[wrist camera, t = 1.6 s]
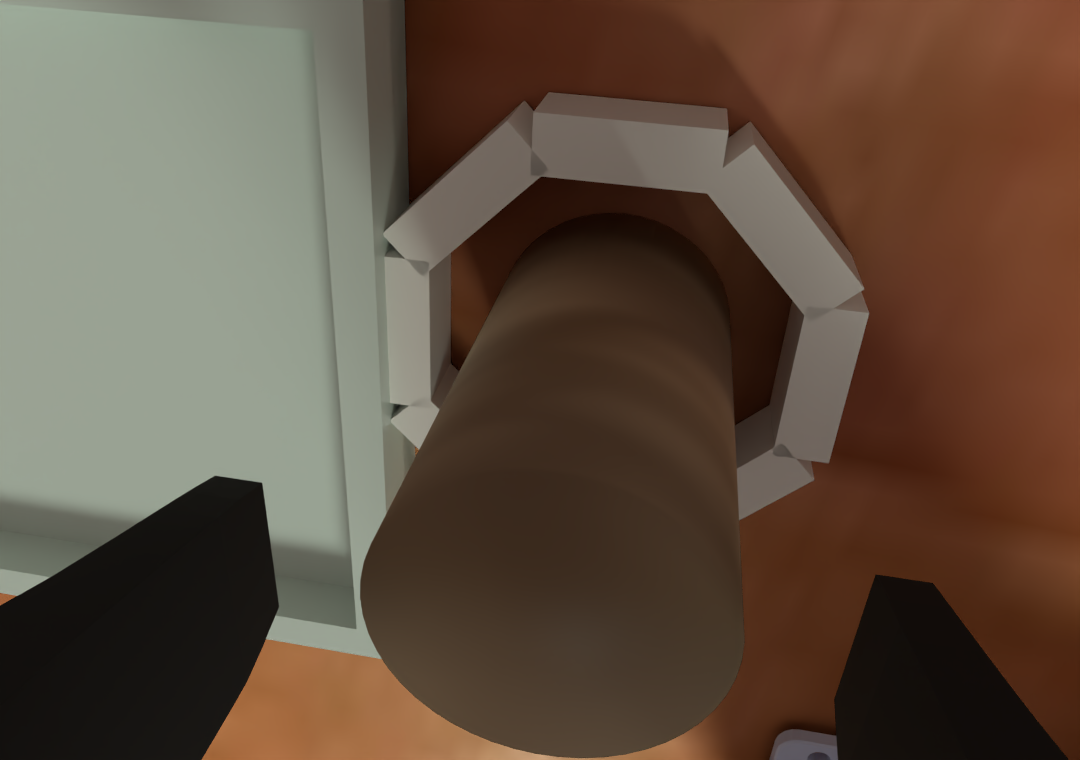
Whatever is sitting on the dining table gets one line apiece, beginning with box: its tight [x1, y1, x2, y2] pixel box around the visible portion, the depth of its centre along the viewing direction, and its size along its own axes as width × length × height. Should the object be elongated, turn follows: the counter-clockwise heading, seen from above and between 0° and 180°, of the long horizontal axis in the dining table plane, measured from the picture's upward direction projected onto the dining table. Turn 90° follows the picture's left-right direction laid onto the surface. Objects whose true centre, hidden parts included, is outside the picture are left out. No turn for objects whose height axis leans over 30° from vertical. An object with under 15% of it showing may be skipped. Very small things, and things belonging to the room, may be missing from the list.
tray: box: [0, 0, 415, 659], centre depth 18 cm, size 14×14×2 cm
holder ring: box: [383, 92, 869, 520], centre depth 16 cm, size 8×8×2 cm
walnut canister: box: [360, 213, 745, 758], centre depth 13 cm, size 4×4×8 cm
